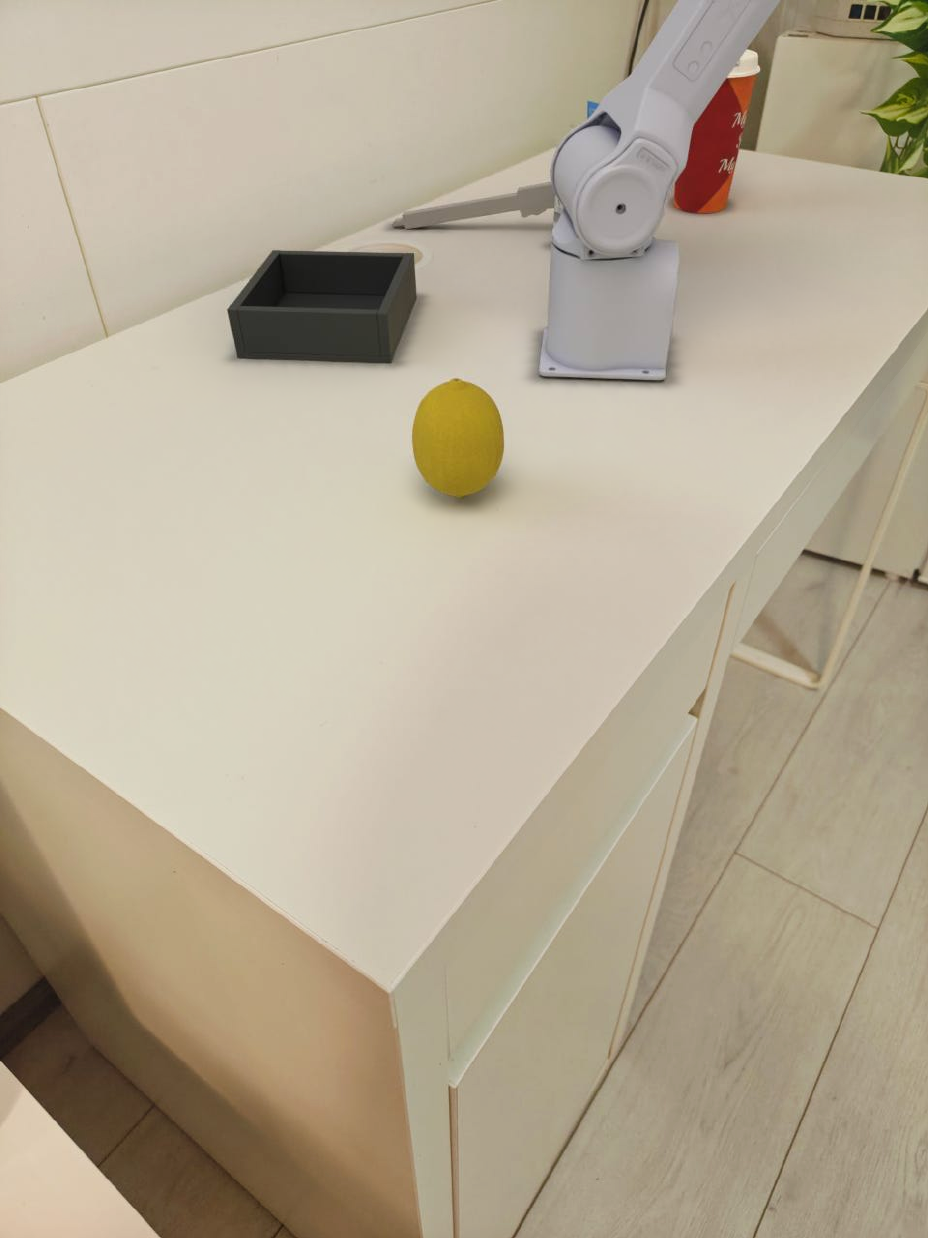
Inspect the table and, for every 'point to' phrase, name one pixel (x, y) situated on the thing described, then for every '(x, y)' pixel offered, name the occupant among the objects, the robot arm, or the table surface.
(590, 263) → the robot arm
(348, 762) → the table surface
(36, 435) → the table surface
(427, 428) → the lemon
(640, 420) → the table surface
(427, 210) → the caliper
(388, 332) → the dark gray open box
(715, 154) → the paper cup
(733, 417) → the table surface
